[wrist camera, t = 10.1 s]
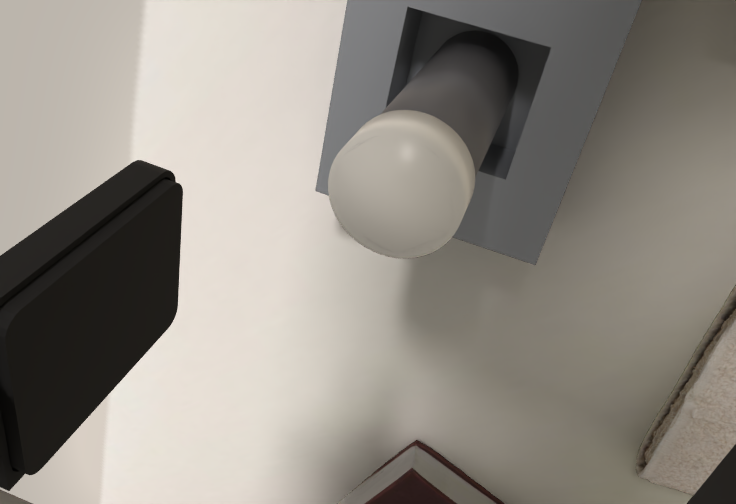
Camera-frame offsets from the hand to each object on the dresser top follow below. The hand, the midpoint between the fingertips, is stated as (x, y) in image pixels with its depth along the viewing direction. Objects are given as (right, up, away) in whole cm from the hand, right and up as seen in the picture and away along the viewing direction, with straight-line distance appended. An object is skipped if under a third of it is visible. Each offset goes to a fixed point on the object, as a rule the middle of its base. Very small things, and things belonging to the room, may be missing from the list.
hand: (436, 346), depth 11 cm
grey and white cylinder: (+3, +9, +18) cm, 20 cm away
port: (+4, +9, +19) cm, 21 cm away
